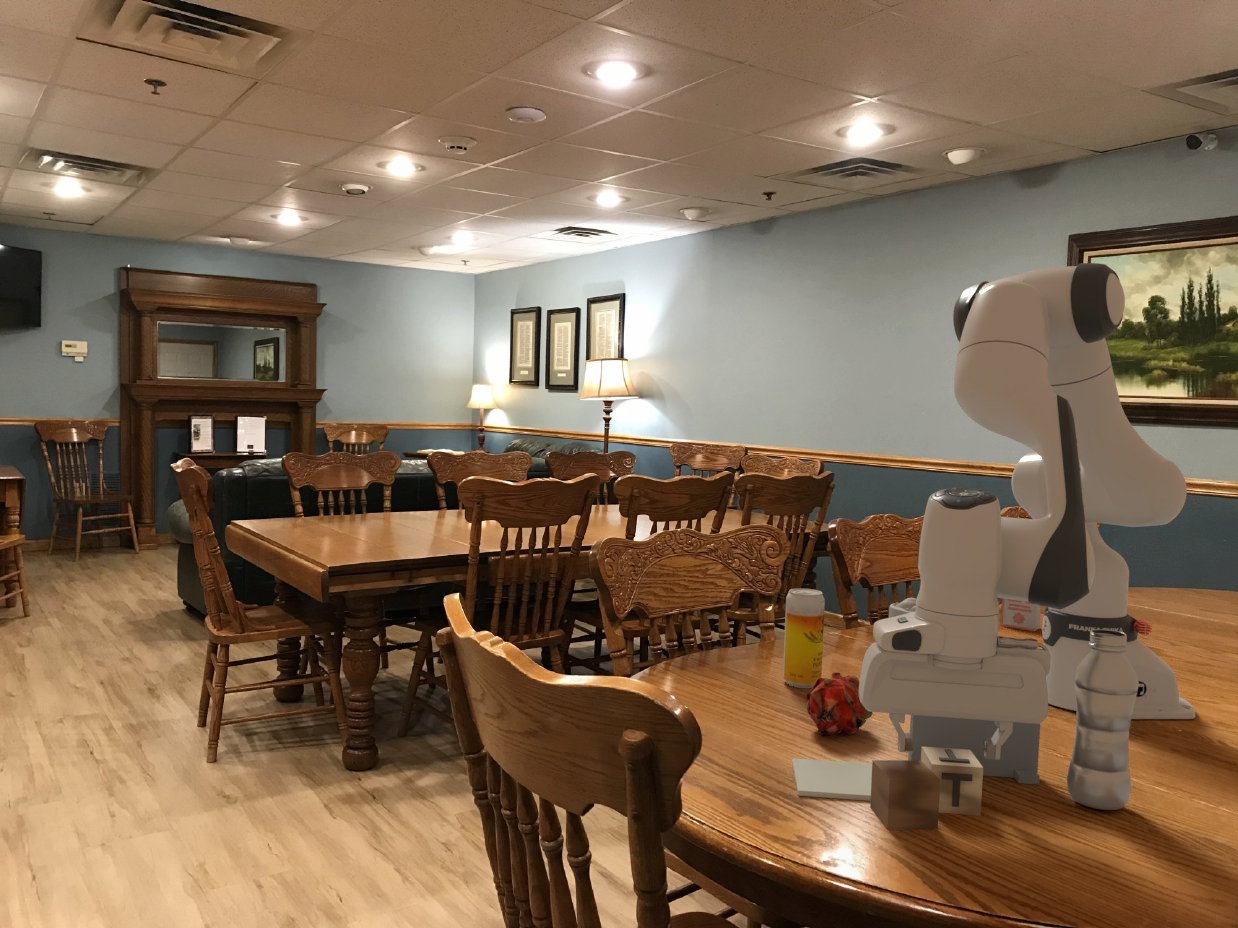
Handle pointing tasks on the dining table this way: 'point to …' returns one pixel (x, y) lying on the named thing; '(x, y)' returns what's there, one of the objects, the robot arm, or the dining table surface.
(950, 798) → the lettered cube
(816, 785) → the coaster
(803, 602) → the beer can
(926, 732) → the grey board
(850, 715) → the dragon fruit
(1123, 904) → the dining table surface
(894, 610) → the lumpy-topped squat cylinder
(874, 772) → the plain cube
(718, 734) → the dining table surface
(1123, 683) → the plastic bottle
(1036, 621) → the tea bag
